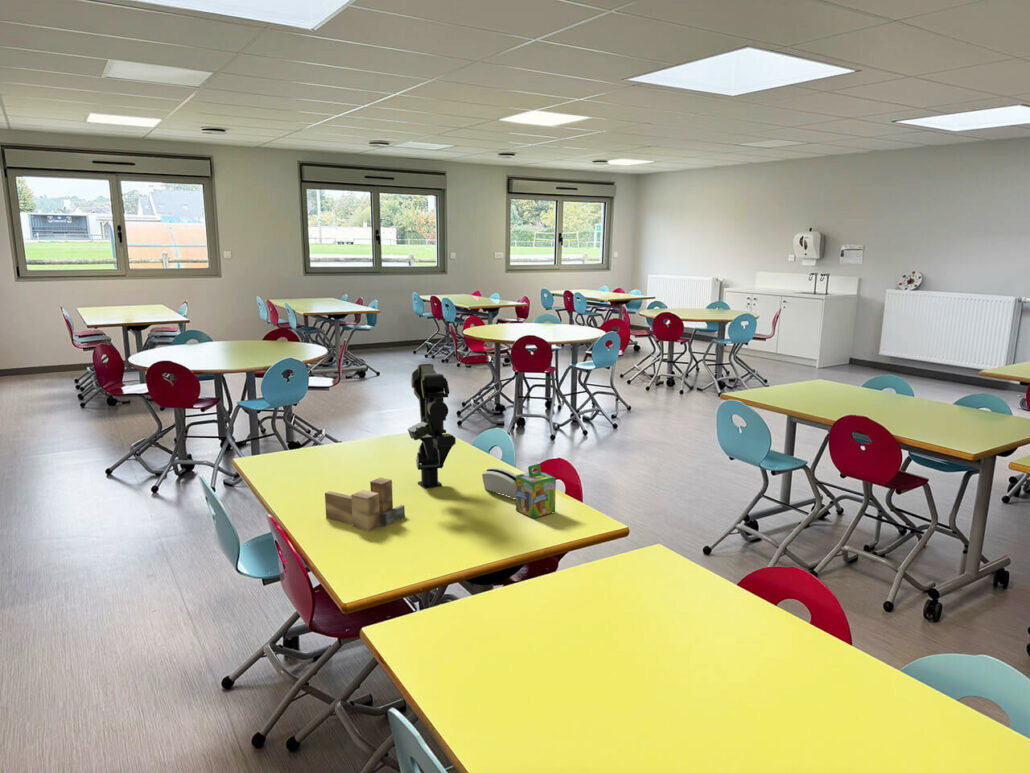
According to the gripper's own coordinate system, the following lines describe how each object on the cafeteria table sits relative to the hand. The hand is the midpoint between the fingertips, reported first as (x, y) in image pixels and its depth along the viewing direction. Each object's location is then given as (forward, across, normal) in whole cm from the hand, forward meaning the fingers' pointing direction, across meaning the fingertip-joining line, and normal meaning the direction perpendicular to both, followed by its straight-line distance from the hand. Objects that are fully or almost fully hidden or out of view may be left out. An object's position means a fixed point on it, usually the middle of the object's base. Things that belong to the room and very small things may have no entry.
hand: (435, 461), depth 224 cm
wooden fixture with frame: (+13, +3, -25) cm, 29 cm away
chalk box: (+14, +24, +23) cm, 36 cm away
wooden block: (+14, +6, -20) cm, 25 cm away
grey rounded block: (+13, +6, +22) cm, 26 cm away
